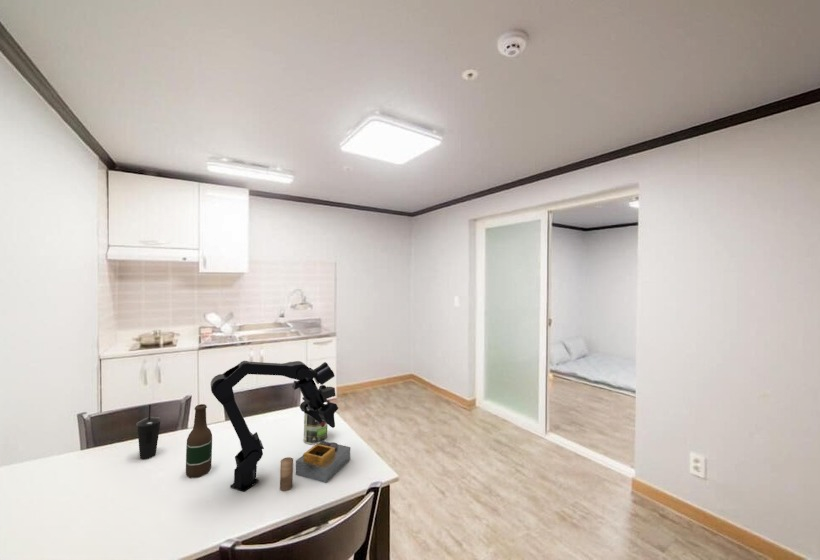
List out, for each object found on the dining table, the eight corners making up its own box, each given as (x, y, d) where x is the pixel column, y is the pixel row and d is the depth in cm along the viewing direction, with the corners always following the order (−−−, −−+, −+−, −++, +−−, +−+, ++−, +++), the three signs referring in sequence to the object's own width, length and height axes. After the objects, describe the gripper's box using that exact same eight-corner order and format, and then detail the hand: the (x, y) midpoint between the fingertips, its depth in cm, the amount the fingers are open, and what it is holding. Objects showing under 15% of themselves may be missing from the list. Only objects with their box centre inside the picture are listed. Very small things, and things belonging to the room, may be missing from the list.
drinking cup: (165, 451, 129) (167, 401, 130) (148, 462, 122) (149, 409, 122) (147, 450, 130) (149, 400, 130) (129, 460, 122) (131, 407, 123)
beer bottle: (198, 480, 112) (200, 410, 112) (179, 476, 113) (182, 408, 113) (216, 467, 119) (218, 402, 120) (198, 464, 121) (200, 400, 121)
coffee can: (332, 438, 144) (333, 406, 144) (312, 447, 136) (313, 413, 136) (317, 431, 150) (318, 401, 150) (298, 439, 142) (299, 407, 142)
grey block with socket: (325, 483, 111) (326, 461, 111) (295, 474, 116) (296, 453, 116) (350, 459, 126) (350, 440, 126) (322, 453, 131) (322, 434, 131)
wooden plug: (286, 492, 106) (287, 464, 106) (277, 489, 107) (277, 462, 108) (295, 485, 110) (295, 458, 110) (285, 482, 111) (286, 456, 111)
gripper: (340, 381, 121) (356, 414, 125) (314, 376, 134) (330, 406, 138) (316, 401, 114) (334, 436, 117) (292, 393, 126) (308, 425, 130)
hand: (327, 424), depth 126 cm, fingers open, 9 cm apart
